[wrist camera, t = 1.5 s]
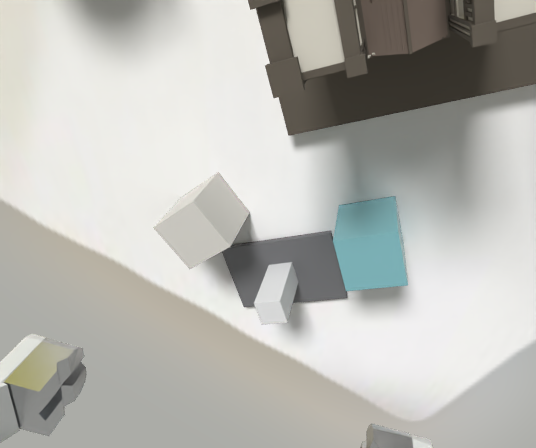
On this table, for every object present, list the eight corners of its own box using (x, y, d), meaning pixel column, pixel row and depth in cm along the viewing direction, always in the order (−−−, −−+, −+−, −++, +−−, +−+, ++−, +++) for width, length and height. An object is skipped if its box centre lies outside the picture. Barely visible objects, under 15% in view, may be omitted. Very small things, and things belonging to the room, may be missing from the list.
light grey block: (218, 172, 41) (193, 201, 35) (249, 212, 42) (230, 246, 37) (182, 196, 43) (153, 227, 38) (213, 234, 45) (189, 269, 39)
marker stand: (330, 230, 41) (323, 271, 35) (347, 294, 45) (342, 341, 39) (222, 246, 45) (199, 285, 39) (245, 303, 49) (227, 347, 43)
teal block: (395, 196, 38) (398, 232, 33) (403, 243, 40) (407, 285, 35) (339, 205, 40) (333, 241, 34) (350, 250, 42) (346, 291, 36)
